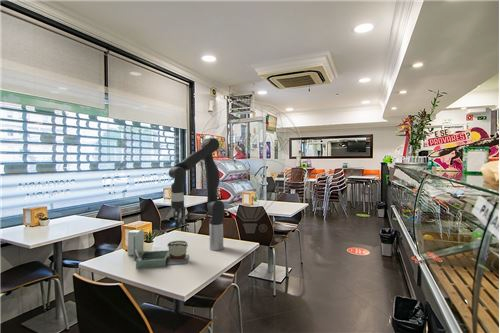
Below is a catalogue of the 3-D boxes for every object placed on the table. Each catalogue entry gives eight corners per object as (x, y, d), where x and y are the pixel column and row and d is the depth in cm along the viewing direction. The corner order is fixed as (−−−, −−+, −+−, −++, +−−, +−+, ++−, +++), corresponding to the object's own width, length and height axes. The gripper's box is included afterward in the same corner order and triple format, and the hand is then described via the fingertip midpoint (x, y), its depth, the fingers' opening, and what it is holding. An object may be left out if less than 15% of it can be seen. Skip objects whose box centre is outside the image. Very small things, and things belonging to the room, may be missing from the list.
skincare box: (127, 255, 167) (127, 232, 167) (131, 252, 173) (131, 229, 173) (140, 255, 167) (140, 232, 167) (144, 252, 173) (143, 229, 173)
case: (170, 256, 164) (169, 228, 164) (165, 266, 148) (165, 235, 148) (141, 258, 162) (141, 229, 162) (133, 268, 146) (133, 236, 146)
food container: (190, 256, 163) (190, 240, 162) (187, 260, 156) (187, 243, 156) (171, 256, 163) (171, 240, 163) (167, 259, 157) (167, 243, 157)
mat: (188, 255, 166) (188, 254, 166) (186, 264, 152) (186, 263, 152) (170, 256, 164) (170, 255, 164) (167, 265, 150) (167, 264, 150)
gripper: (182, 201, 151) (183, 229, 151) (185, 198, 165) (185, 223, 165) (169, 202, 150) (169, 230, 150) (172, 198, 164) (173, 224, 164)
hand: (178, 226), depth 158 cm, fingers open, 8 cm apart
